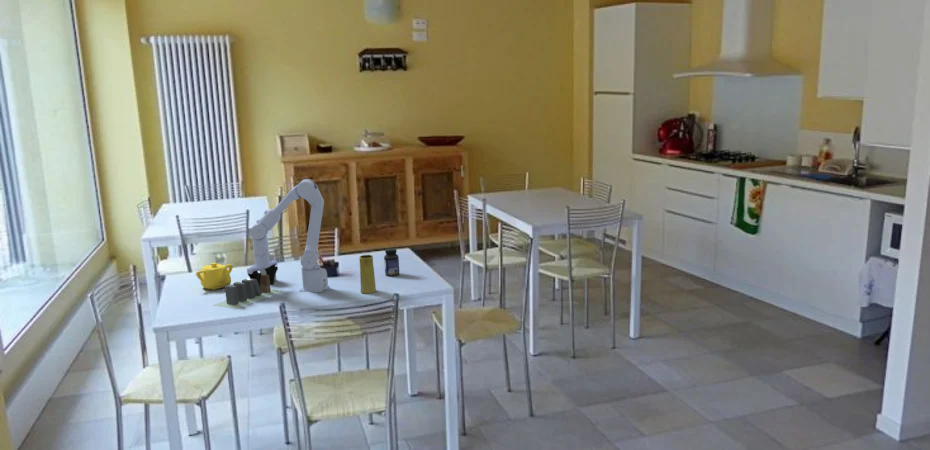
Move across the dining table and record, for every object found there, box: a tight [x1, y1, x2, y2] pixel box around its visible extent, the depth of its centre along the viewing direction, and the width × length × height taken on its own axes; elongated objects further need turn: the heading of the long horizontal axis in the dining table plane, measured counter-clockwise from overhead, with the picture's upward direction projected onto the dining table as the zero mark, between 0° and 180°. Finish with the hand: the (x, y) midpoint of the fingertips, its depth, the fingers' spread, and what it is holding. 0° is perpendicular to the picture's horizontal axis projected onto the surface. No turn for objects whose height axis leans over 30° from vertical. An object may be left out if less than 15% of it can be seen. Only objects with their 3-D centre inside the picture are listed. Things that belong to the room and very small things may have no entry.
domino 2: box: [232, 281, 247, 302], centre depth 271 cm, size 2×4×7 cm, turn 61°
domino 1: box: [224, 284, 239, 305], centre depth 268 cm, size 2×4×7 cm, turn 61°
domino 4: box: [246, 277, 262, 296], centre depth 277 cm, size 2×4×7 cm, turn 61°
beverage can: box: [259, 252, 277, 282], centre depth 297 cm, size 6×6×12 cm
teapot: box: [195, 262, 233, 291], centre depth 292 cm, size 14×13×10 cm
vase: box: [359, 254, 377, 295], centre depth 277 cm, size 6×6×14 cm
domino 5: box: [260, 274, 271, 293], centre depth 282 cm, size 2×4×7 cm, turn 61°
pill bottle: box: [383, 248, 400, 277], centre depth 301 cm, size 6×6×11 cm
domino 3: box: [241, 278, 255, 299], centre depth 275 cm, size 2×4×7 cm, turn 61°
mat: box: [214, 288, 283, 310], centre depth 276 cm, size 25×12×1 cm, turn 151°
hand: (264, 286), depth 282 cm, fingers open, 7 cm apart
